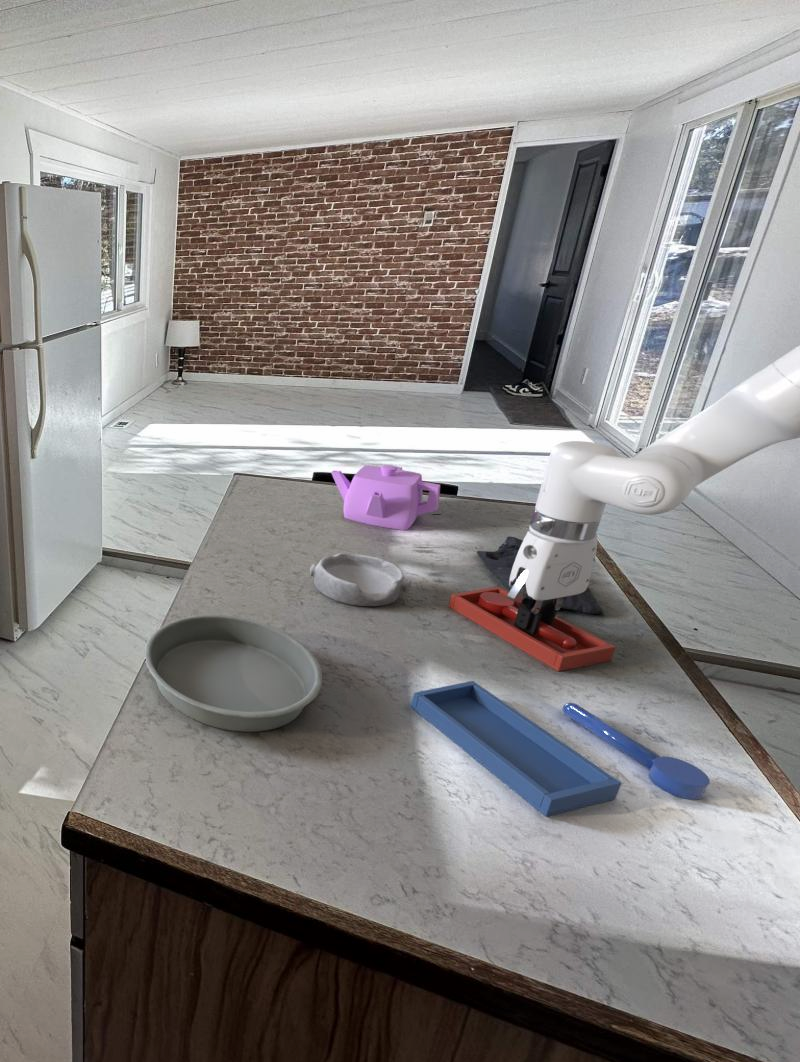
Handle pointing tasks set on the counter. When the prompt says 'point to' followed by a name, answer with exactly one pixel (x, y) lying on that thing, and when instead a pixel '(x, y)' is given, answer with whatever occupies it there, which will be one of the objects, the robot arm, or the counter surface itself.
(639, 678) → the counter surface
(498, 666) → the counter surface
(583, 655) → the red tray
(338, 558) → the dish
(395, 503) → the teakettle
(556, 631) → the red spoon
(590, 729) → the blue spoon
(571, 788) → the blue tray
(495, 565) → the dark slate chunk
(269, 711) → the cake pan
